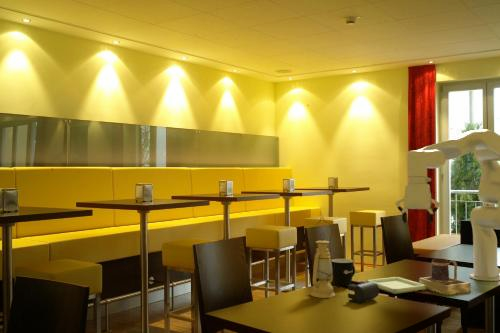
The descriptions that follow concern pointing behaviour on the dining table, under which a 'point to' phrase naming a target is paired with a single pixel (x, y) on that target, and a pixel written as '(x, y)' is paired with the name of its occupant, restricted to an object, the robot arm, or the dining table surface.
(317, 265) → the lantern
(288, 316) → the dining table surface
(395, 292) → the tray
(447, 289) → the tray
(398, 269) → the dining table surface
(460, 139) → the robot arm
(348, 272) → the mug
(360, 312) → the dining table surface
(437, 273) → the mug
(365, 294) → the end cap
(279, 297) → the dining table surface
